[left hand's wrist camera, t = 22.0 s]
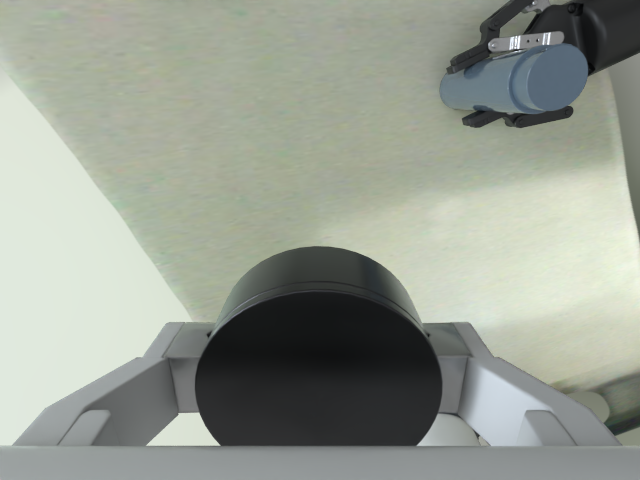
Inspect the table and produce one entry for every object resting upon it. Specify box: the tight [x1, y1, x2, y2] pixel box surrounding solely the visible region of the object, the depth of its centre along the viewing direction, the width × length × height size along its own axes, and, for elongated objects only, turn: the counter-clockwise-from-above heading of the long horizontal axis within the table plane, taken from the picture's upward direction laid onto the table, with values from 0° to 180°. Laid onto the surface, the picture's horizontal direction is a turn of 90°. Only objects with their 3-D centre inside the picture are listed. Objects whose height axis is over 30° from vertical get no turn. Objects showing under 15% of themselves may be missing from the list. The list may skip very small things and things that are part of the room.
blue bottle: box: [440, 43, 588, 114], centre depth 35 cm, size 5×5×19 cm
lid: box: [195, 246, 443, 446], centre depth 10 cm, size 6×6×2 cm
